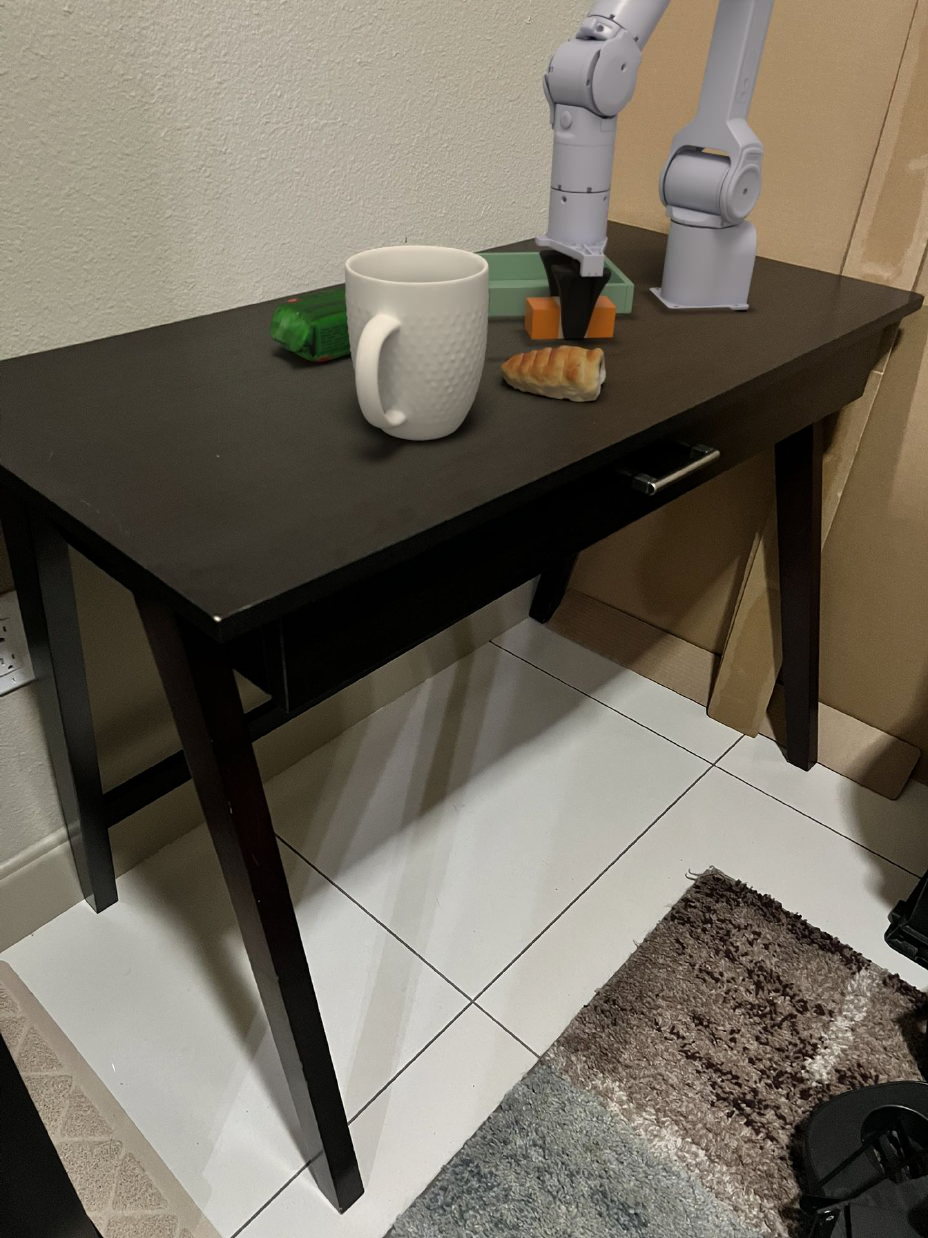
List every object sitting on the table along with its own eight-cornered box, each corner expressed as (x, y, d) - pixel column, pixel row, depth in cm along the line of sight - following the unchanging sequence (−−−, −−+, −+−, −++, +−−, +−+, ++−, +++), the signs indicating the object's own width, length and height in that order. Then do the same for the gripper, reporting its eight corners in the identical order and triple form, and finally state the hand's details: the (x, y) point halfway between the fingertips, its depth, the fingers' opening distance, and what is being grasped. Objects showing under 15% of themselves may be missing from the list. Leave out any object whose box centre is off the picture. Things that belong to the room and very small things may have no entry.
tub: (598, 281, 113) (601, 250, 111) (630, 318, 102) (634, 284, 100) (464, 284, 112) (464, 252, 109) (481, 321, 100) (482, 287, 98)
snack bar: (602, 330, 98) (606, 295, 96) (612, 342, 95) (616, 306, 93) (524, 332, 97) (525, 296, 95) (531, 344, 94) (533, 308, 92)
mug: (436, 484, 68) (435, 305, 61) (305, 458, 71) (289, 285, 64) (503, 411, 80) (509, 253, 72) (388, 392, 83) (382, 238, 75)
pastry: (494, 394, 83) (496, 353, 80) (507, 369, 88) (509, 329, 86) (599, 405, 81) (604, 362, 79) (606, 378, 87) (610, 338, 84)
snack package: (429, 340, 95) (429, 287, 92) (300, 373, 86) (295, 317, 83) (387, 323, 99) (386, 273, 96) (260, 354, 90) (254, 299, 88)
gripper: (525, 173, 93) (518, 309, 101) (555, 203, 81) (544, 354, 89) (593, 173, 94) (581, 308, 102) (632, 202, 82) (615, 352, 90)
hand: (568, 329), depth 96 cm, fingers closed on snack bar, 4 cm apart
